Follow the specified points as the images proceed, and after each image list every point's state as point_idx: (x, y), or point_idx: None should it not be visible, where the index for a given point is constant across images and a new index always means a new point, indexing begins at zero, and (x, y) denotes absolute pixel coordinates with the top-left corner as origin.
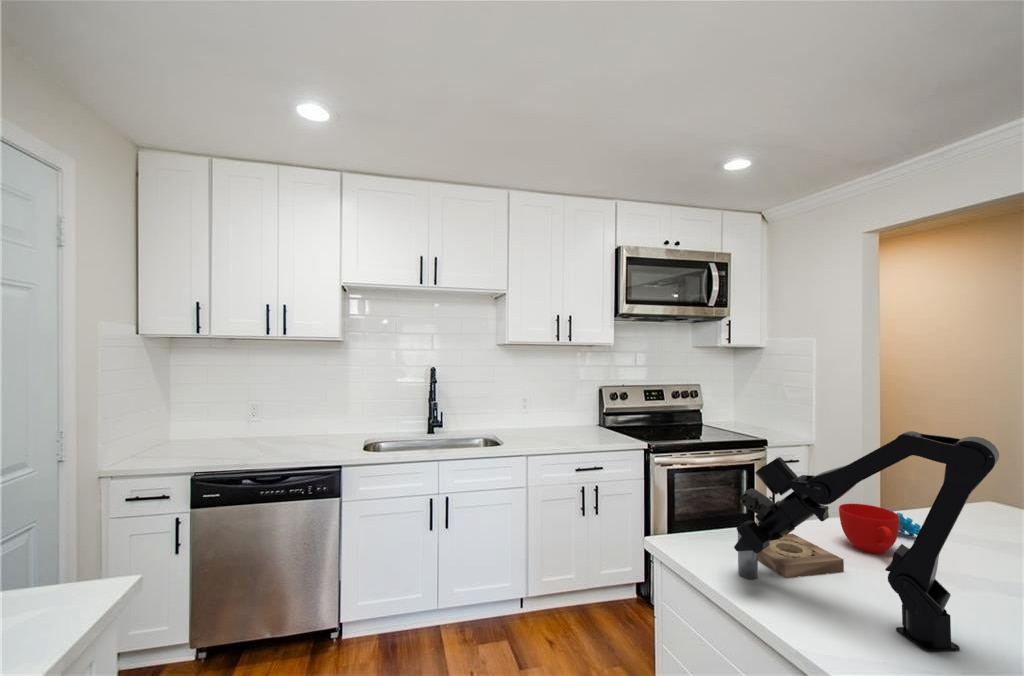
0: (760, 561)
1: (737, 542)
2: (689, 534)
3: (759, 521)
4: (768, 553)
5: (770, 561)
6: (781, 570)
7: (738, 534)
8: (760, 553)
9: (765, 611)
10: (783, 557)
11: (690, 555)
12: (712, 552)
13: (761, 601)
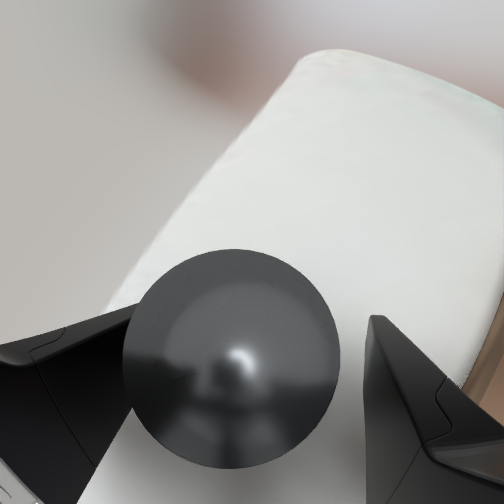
0: (476, 362)
1: (107, 315)
2: (453, 87)
3: (459, 477)
4: (489, 407)
5: None
6: None
7: (169, 281)
8: (494, 358)
9: None
10: None
11: (302, 142)
12: (399, 179)
13: (103, 460)
